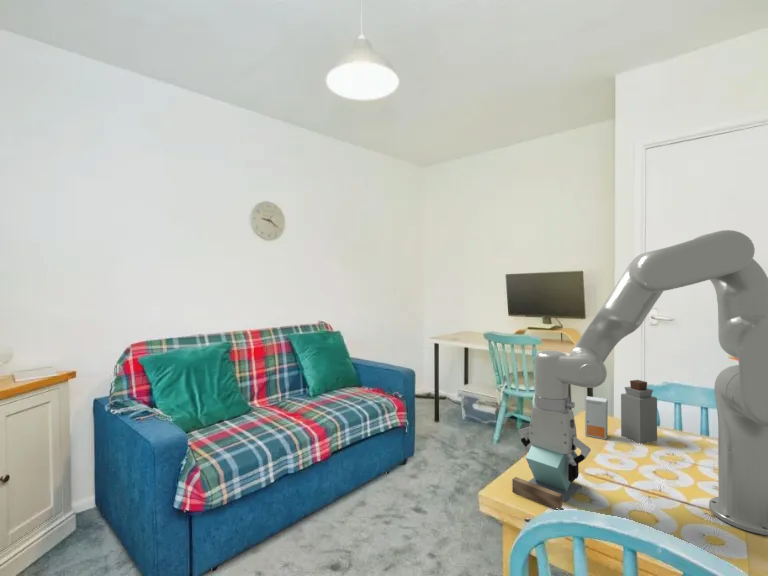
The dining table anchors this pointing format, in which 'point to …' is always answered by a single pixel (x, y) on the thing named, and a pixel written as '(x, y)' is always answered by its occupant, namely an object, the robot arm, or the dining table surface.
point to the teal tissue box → (549, 467)
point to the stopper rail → (537, 493)
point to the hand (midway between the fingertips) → (552, 472)
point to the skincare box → (596, 417)
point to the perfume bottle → (639, 413)
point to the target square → (565, 494)
